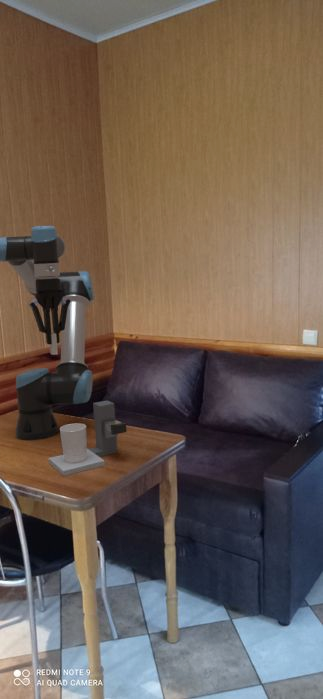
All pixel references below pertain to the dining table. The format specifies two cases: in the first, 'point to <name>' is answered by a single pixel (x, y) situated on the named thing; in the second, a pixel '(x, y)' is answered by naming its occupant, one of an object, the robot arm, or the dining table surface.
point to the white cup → (74, 442)
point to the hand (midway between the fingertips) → (54, 354)
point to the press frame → (102, 448)
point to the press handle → (113, 428)
